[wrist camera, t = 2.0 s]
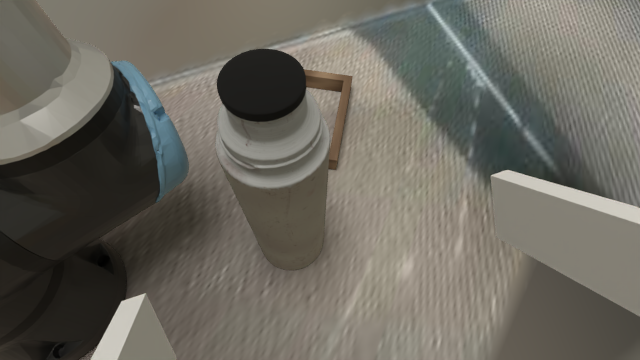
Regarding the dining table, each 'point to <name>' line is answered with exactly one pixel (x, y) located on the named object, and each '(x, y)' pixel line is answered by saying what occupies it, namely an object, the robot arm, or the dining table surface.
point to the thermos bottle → (275, 153)
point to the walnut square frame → (343, 86)
